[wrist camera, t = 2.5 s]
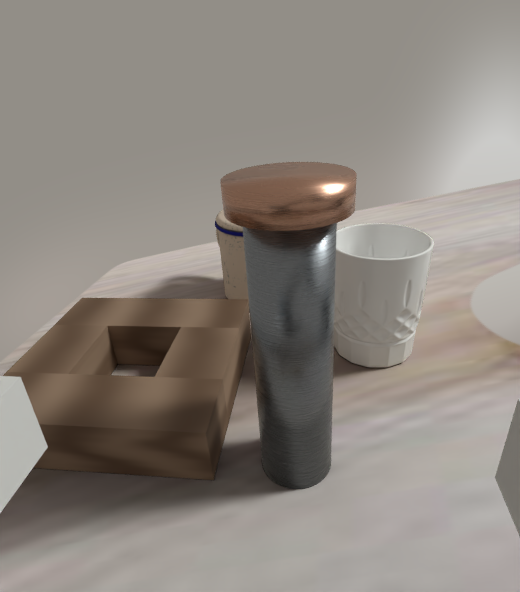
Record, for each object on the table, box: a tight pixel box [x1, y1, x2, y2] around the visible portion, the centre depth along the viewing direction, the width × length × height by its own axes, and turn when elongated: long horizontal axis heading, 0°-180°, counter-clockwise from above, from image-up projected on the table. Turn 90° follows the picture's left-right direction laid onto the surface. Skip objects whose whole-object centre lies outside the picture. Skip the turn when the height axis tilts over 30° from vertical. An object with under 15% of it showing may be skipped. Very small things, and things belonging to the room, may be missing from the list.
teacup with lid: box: [215, 210, 249, 305], centre depth 47 cm, size 12×9×12 cm
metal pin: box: [221, 162, 356, 489], centre depth 23 cm, size 6×6×18 cm
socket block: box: [3, 298, 251, 480], centre depth 34 cm, size 16×16×4 cm
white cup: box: [334, 223, 434, 367], centre depth 36 cm, size 8×8×10 cm
